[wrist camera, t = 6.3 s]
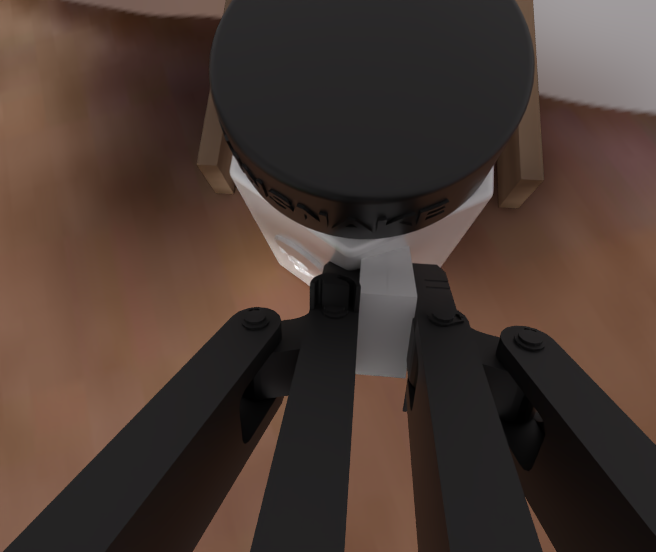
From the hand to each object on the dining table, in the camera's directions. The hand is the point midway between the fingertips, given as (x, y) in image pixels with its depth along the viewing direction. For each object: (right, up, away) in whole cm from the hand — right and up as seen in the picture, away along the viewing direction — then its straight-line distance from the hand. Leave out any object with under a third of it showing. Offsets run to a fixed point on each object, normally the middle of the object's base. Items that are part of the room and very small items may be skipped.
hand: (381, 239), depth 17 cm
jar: (0, +1, +5) cm, 5 cm away
